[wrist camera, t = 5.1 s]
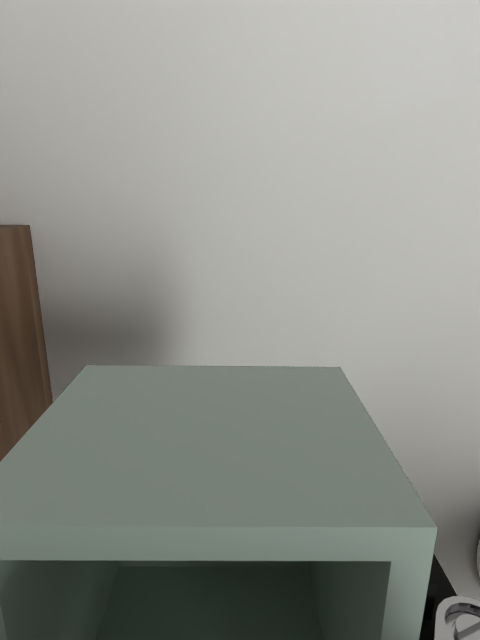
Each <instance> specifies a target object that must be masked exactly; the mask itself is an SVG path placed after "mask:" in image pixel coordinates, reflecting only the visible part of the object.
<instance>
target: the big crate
mask: <svg viewBox="0 0 480 640" xmlns="http://www.w3.org/2000/svg"><path fill="white" fill-rule="evenodd" d="M52 403H53V402H52V394H51V387H50V379H49V371H48V364H47V356H46V348H45V340H44V333H43V325H42V317H41V310H40V302H39V294H38V287H37V279H36V271H35V263H34V256H33V248H32V240H31V233H30V225H0V462H1V461H2V459H3V458H4V457H5V456H6V455H7V454H8V453H9V452H10V450H11V449H12V448H13V447H14V446H15V445H16V444H17V443H18V441H19V440H20V439H21V438H22V437H23V436H24V435H25V434H26V432H27V431H28V430H29V429H30V428H31V427H32V426H33V425H34V423H35V422H36V421H37V420H38V419H39V418H40V417H41V416H42V414H43V413H44V412H45V411H46V410H47V409H48V408H49V407H50V405H51V404H52Z"/></svg>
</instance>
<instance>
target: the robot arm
mask: <svg viewBox="0 0 480 640" xmlns="http://www.w3.org/2000/svg"><path fill="white" fill-rule="evenodd" d="M477 568H478V573H479V577H480V541H479V544H478V548H477ZM419 640H480V601H478V600H476V599H473V598H469V597H465V596H457V595H456V593H455V591H454V589H453V588H452V586H451V584H450V582H449V580H448V578H447V577H446V575H445V573H444V571H443V569H442V568H441V566H440V564H439V562H438V560H437V559H436V557H435V555H434V553H433V559H432V565H431V571H430V577H429V583H428V589H427V595H426V601H425V607H424V613H423V619H422V625H421V631H420V637H419Z"/></svg>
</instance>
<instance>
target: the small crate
mask: <svg viewBox="0 0 480 640" xmlns="http://www.w3.org/2000/svg"><path fill="white" fill-rule="evenodd" d="M437 530H438V527H437V525H436V524H435V522H434V520H433V519H432V517H431V515H430V514H429V512H428V510H427V509H426V507H425V506H424V504H423V502H422V501H421V499H420V497H419V496H418V494H417V492H416V491H415V489H414V488H413V486H412V484H411V483H410V481H409V479H408V478H407V476H406V474H405V473H404V471H403V469H402V468H401V466H400V465H399V463H398V461H397V460H396V458H395V456H394V455H393V453H392V451H391V450H390V448H389V447H388V445H387V443H386V442H385V440H384V438H383V437H382V435H381V433H380V432H379V430H378V428H377V427H376V425H375V424H374V422H373V420H372V419H371V417H370V415H369V414H368V412H367V410H366V409H365V407H364V406H363V404H362V402H361V401H360V399H359V397H358V396H357V394H356V392H355V391H354V389H353V387H352V386H351V384H350V383H349V381H348V379H347V378H346V376H345V374H344V373H343V371H342V369H341V368H340V367H277V366H146V365H86V366H85V367H84V368H83V370H82V371H81V372H80V373H79V374H78V375H77V376H76V377H75V379H74V380H73V381H72V382H71V383H70V384H69V385H68V386H67V388H66V389H65V390H64V391H63V392H62V393H61V394H60V395H59V397H58V398H57V399H56V400H55V401H54V402H53V403H52V404H51V405H50V407H49V408H48V409H47V410H46V411H45V412H44V413H43V414H42V416H41V417H40V418H39V419H38V420H37V421H36V422H35V423H34V425H33V426H32V427H31V428H30V429H29V430H28V431H27V432H26V434H25V435H24V436H23V437H22V438H21V439H20V440H19V441H18V443H17V444H16V445H15V446H14V447H13V448H12V449H11V450H10V452H9V453H8V454H7V455H6V456H5V457H4V458H3V459H2V461H1V462H0V640H419V637H420V631H421V625H422V619H423V613H424V607H425V601H426V595H427V589H428V583H429V577H430V571H431V565H432V559H433V553H434V547H435V541H436V535H437Z"/></svg>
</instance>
